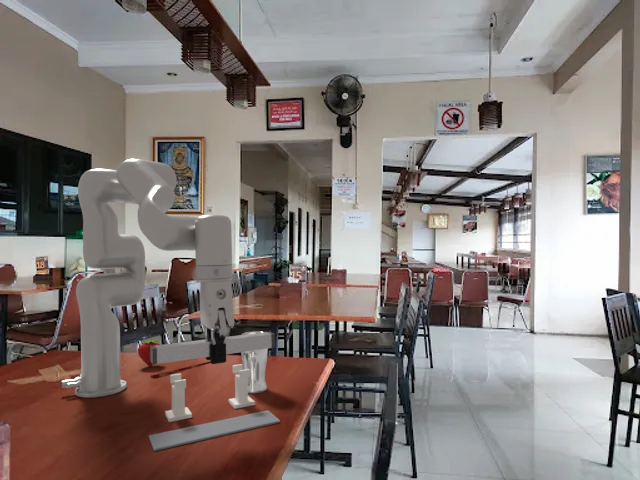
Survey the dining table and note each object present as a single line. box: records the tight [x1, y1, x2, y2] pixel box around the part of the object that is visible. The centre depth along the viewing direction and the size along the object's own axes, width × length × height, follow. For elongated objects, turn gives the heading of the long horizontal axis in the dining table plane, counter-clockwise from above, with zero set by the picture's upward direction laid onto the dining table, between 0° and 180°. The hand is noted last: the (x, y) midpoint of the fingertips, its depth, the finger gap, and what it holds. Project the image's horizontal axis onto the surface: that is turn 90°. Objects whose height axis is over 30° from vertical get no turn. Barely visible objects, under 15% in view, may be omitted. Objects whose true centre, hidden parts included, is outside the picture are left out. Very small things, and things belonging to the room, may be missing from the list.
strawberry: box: [137, 335, 161, 367], centre depth 144 cm, size 6×8×10 cm
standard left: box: [164, 372, 193, 423], centre depth 101 cm, size 5×6×9 cm
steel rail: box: [150, 331, 276, 365], centre depth 93 cm, size 26×3×3 cm, turn 119°
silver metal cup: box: [240, 330, 269, 394], centre depth 118 cm, size 7×7×15 cm
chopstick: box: [150, 361, 211, 379], centre depth 140 cm, size 2×24×1 cm, turn 142°
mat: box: [148, 410, 281, 452], centre depth 93 cm, size 26×7×1 cm, turn 119°
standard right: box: [228, 363, 256, 410], centre depth 108 cm, size 5×6×9 cm
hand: (215, 360), depth 93 cm, fingers closed on steel rail, 3 cm apart
